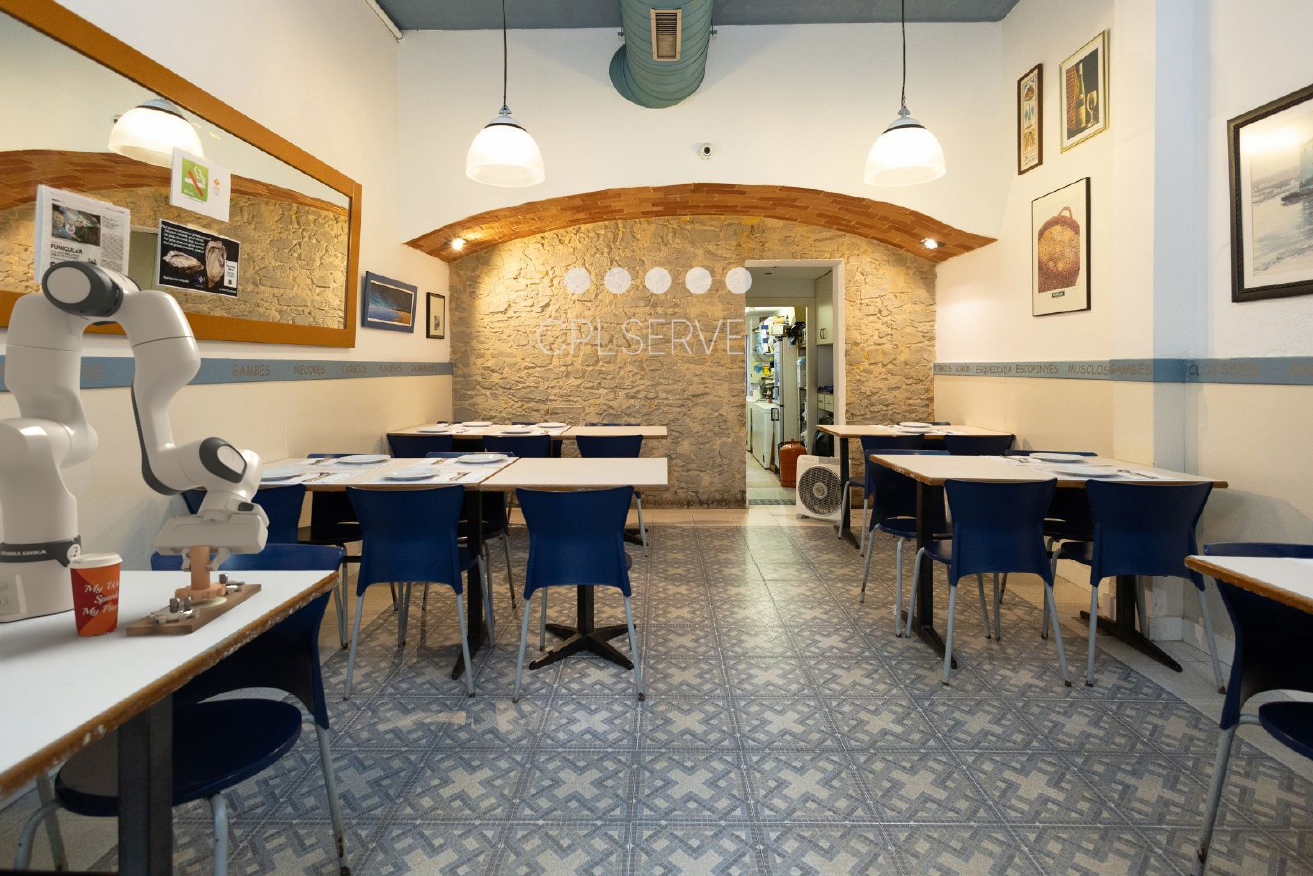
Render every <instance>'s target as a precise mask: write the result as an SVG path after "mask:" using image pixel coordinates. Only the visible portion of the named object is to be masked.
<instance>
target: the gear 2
mask: <svg viewBox="0 0 1313 876" xmlns="http://www.w3.org/2000/svg"><path fill="white" fill-rule="evenodd" d="M228 577H229V573H220V574H219V575H218V581H216V582H215V581H214V583H221V584H225V585H226V592H225V594H228V595H229V594H234V592H237V591H243V590H244V587H245V584H246V583H245V581H236V580H229V578H228Z"/></svg>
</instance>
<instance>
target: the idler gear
mask: <svg viewBox="0 0 1313 876" xmlns="http://www.w3.org/2000/svg"><path fill="white" fill-rule="evenodd" d="M210 555H211V554H210V546H208V545H201V546H194V547H191V548H190V557H191V558H190V561H191V572H190V585H186V586H185V587H179V588H177V589H175V590H174V598H176V597H179V598H180V601H182V602H184V597H191V601H192V600H193V602H194V601H201V600H203V599H213V598H216V596H222V595H224V594H225V592H226V585H225V584H221V583H215V582H213V583H211V571H208V570H207V569H206V565H207V564H208V561H209V560H210V559H211V558H210V557H211V556H210Z"/></svg>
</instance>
